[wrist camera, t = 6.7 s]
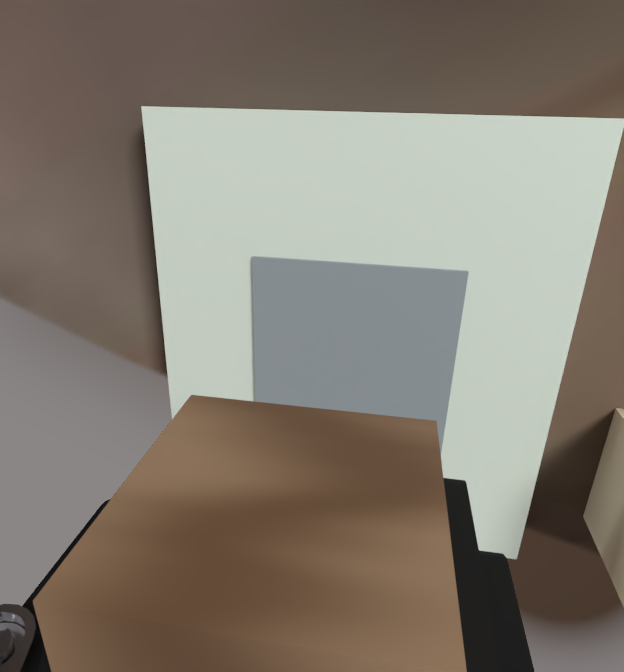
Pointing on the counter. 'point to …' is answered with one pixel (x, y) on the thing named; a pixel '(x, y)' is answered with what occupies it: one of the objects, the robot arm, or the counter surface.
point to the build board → (383, 272)
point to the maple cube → (610, 504)
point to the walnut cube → (265, 551)
